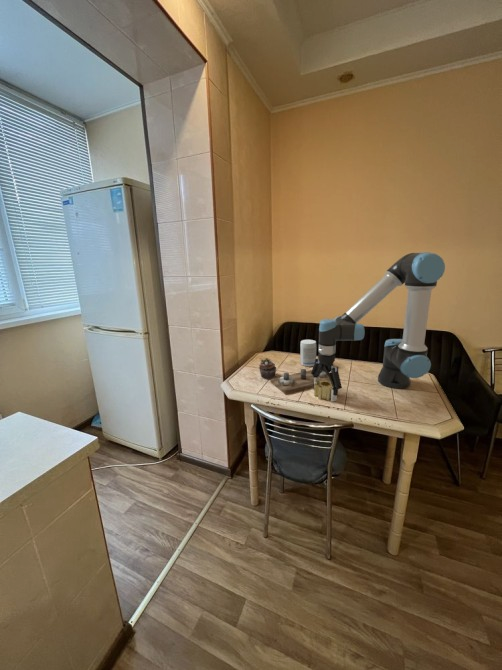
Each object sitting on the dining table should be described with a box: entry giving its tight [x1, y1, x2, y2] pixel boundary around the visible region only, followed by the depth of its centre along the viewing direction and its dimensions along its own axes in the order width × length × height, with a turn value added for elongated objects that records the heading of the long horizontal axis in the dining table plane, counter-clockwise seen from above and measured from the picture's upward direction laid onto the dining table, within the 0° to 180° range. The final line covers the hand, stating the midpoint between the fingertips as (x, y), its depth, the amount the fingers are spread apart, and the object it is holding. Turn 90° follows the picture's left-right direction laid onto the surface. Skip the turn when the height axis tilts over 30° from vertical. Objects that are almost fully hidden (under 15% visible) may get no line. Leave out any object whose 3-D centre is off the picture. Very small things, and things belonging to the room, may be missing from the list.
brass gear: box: [313, 379, 333, 401], centre depth 134 cm, size 10×10×6 cm
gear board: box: [270, 368, 330, 395], centre depth 149 cm, size 15×31×7 cm, turn 114°
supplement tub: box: [299, 339, 317, 367], centre depth 172 cm, size 10×10×15 cm
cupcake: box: [258, 358, 277, 380], centre depth 158 cm, size 10×10×10 cm
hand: (324, 394), depth 135 cm, fingers open, 12 cm apart
